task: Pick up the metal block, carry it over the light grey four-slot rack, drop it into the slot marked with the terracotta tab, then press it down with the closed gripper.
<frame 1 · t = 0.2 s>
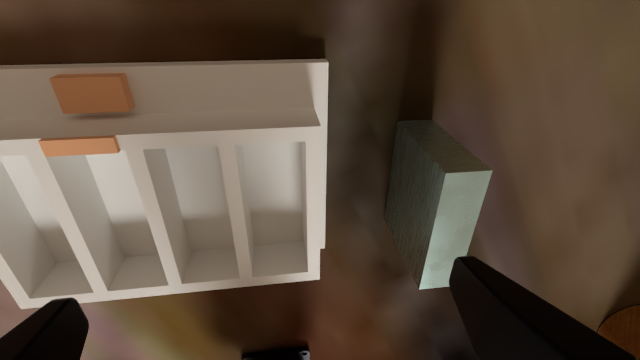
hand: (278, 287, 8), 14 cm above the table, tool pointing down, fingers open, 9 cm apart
disposable coffee cup: (622, 321, 39), on the table
metal block: (406, 173, 24), on the table
rack: (174, 188, 22), on the table
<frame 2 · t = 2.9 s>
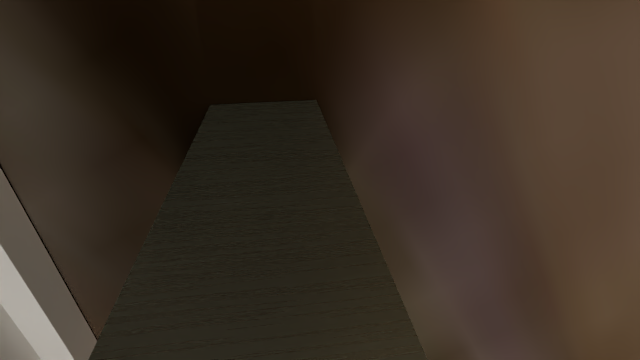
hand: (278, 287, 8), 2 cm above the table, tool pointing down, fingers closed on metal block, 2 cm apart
metal block: (276, 237, 10), on the table, touching gripper
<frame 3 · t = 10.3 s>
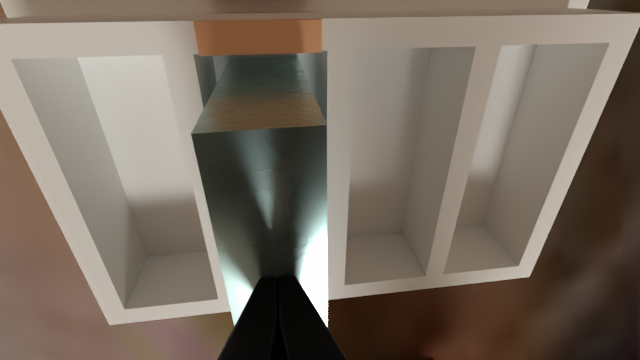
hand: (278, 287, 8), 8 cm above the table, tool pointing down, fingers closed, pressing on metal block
metal block: (273, 157, 14), point 1 cm above the table, touching gripper, rack
rack: (321, 145, 15), on the table
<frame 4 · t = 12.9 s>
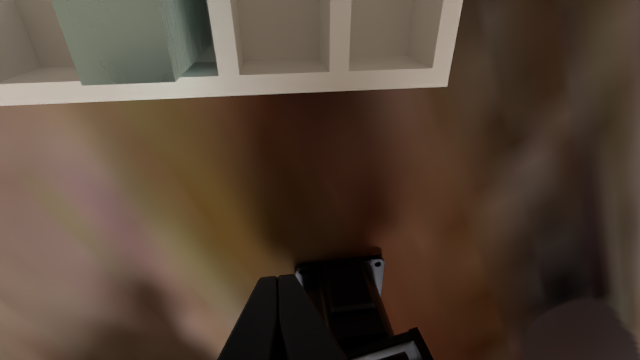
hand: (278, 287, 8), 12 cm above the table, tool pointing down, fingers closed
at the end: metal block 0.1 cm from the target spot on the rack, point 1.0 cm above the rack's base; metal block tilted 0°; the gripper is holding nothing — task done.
